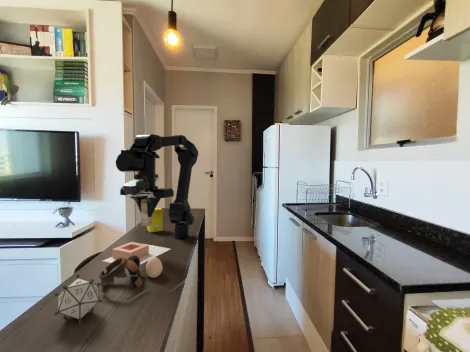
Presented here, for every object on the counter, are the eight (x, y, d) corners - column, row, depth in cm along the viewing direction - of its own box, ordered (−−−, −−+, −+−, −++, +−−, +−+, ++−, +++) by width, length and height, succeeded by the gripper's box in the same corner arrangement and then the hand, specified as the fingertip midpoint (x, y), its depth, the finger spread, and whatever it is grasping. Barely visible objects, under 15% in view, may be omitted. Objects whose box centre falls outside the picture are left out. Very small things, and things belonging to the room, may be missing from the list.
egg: (142, 280, 67) (142, 260, 66) (150, 273, 71) (150, 254, 71) (158, 281, 66) (157, 261, 66) (165, 274, 70) (164, 254, 70)
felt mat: (143, 245, 95) (143, 243, 95) (171, 250, 89) (171, 248, 89) (102, 262, 78) (102, 260, 78) (132, 269, 73) (132, 268, 73)
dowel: (146, 224, 86) (146, 198, 85) (152, 224, 85) (152, 199, 84) (140, 225, 83) (140, 199, 83) (146, 226, 82) (146, 200, 82)
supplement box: (146, 231, 114) (145, 207, 113) (159, 229, 117) (158, 206, 116) (149, 234, 109) (149, 210, 108) (162, 232, 112) (162, 208, 111)
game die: (75, 330, 52) (73, 282, 57) (113, 314, 53) (108, 268, 57) (40, 336, 44) (41, 279, 49) (86, 317, 45) (83, 263, 49)
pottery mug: (137, 297, 59) (117, 271, 57) (106, 309, 61) (86, 285, 59) (155, 264, 71) (139, 242, 69) (129, 276, 72) (112, 254, 70)
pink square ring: (131, 250, 88) (131, 241, 88) (148, 253, 85) (148, 245, 84) (112, 258, 80) (112, 249, 80) (130, 262, 77) (130, 252, 77)
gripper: (106, 171, 79) (106, 218, 80) (152, 172, 72) (152, 224, 73) (132, 170, 90) (132, 212, 90) (174, 171, 83) (174, 217, 83)
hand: (146, 216), depth 84 cm, fingers closed on dowel, 2 cm apart
